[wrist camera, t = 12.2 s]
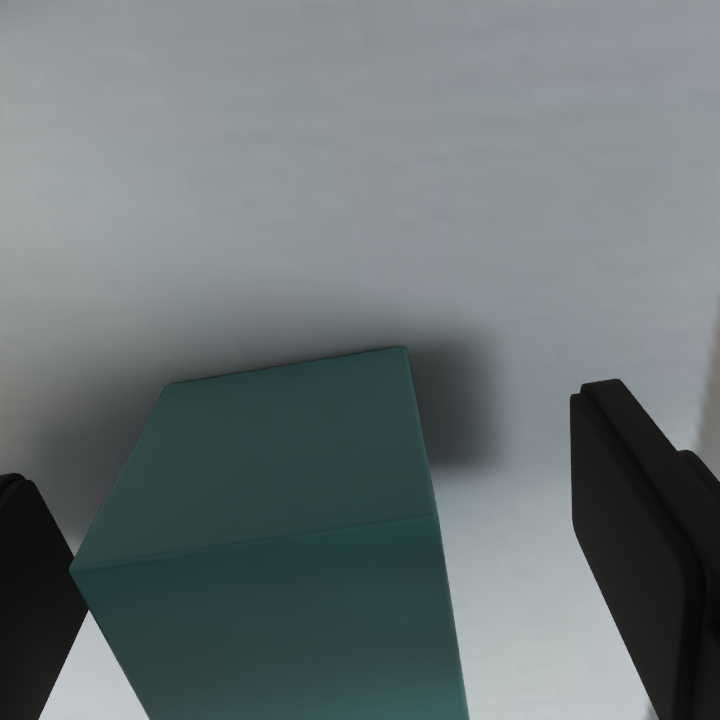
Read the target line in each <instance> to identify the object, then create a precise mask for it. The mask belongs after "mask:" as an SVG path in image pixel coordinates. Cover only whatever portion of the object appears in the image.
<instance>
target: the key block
mask: <svg viewBox="0 0 720 720" xmlns="http://www.w3.org/2000/svg"><path fill="white" fill-rule="evenodd" d="M69 572H70V575H71V577H72V579H73V581H74V582H75V584H76V586H77V588H78V590H79V592H80V593H81V595H82V597H83V599H84V601H85V603H86V604H87V606H88V608H89V610H90V612H91V613H92V615H93V617H94V619H95V621H96V623H97V624H98V626H99V628H100V630H101V632H102V634H103V635H104V637H105V639H106V641H107V643H108V644H109V646H110V648H111V650H112V652H113V654H114V655H115V657H116V659H117V661H118V663H119V665H120V666H121V668H122V670H123V672H124V674H125V675H126V677H127V679H128V681H129V683H130V685H131V686H132V688H133V690H134V692H135V694H136V696H137V697H138V699H139V701H140V703H141V705H142V706H143V708H144V710H145V712H146V714H147V716H148V717H149V719H150V720H469V714H468V707H467V700H466V694H465V687H464V681H463V674H462V668H461V661H460V655H459V648H458V642H457V635H456V629H455V622H454V616H453V609H452V603H451V596H450V589H449V583H448V576H447V570H446V563H445V557H444V550H443V544H442V537H441V531H440V524H439V518H438V512H437V507H436V501H435V496H434V491H433V485H432V480H431V475H430V469H429V464H428V459H427V453H426V448H425V443H424V438H423V432H422V427H421V422H420V416H419V411H418V406H417V400H416V395H415V390H414V384H413V379H412V374H411V368H410V363H409V358H408V352H407V349H406V348H405V347H403V346H401V347H395V348H389V349H383V350H377V351H371V352H365V353H359V354H353V355H347V356H341V357H334V358H328V359H322V360H316V361H310V362H304V363H298V364H292V365H286V366H280V367H274V368H268V369H262V370H256V371H250V372H244V373H237V374H231V375H225V376H219V377H213V378H207V379H201V380H195V381H189V382H183V383H177V384H171V385H167V386H166V387H165V388H164V390H163V392H162V394H161V396H160V398H159V400H158V402H157V403H156V405H155V407H154V409H153V411H152V413H151V415H150V417H149V418H148V420H147V422H146V424H145V426H144V428H143V430H142V432H141V434H140V435H139V437H138V439H137V441H136V443H135V445H134V447H133V449H132V450H131V452H130V454H129V456H128V458H127V460H126V462H125V464H124V465H123V467H122V469H121V471H120V473H119V475H118V477H117V479H116V481H115V482H114V484H113V486H112V488H111V490H110V492H109V494H108V496H107V497H106V499H105V501H104V503H103V505H102V507H101V509H100V511H99V512H98V514H97V516H96V518H95V520H94V522H93V524H92V526H91V528H90V529H89V531H88V533H87V535H86V537H85V539H84V541H83V543H82V544H81V546H80V548H79V550H78V552H77V554H76V556H75V558H74V559H73V561H72V563H71V565H70V568H69Z"/></svg>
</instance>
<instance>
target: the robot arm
mask: <svg viewBox="0 0 720 720" xmlns="http://www.w3.org/2000/svg"><path fill="white" fill-rule="evenodd" d="M570 435H571V485H572V521H573V526H574V531H575V534H576V537H577V540H578V542H579V544H580V546H581V549H582V551H583V553H584V555H585V557H586V560H587V562H588V564H589V566H590V568H591V571H592V573H593V575H594V577H595V579H596V582H597V584H598V586H599V588H600V590H601V593H602V595H603V597H604V599H605V601H606V604H607V606H608V608H609V610H610V612H611V615H612V617H613V619H614V621H615V623H616V626H617V628H618V630H619V632H620V634H621V637H622V639H623V641H624V643H625V645H626V648H627V650H628V652H629V654H630V656H631V659H632V661H633V663H634V665H635V667H636V670H637V672H638V674H639V676H640V678H641V681H642V683H643V685H644V687H645V689H646V692H647V694H648V696H649V698H650V700H651V703H652V705H653V707H654V709H655V711H656V714H657V716H658V718H659V720H720V482H719V481H718V480H717V478H716V477H715V476H714V475H713V474H712V472H711V471H710V470H709V469H708V468H707V466H706V465H705V464H704V463H703V462H702V460H701V459H700V458H699V457H698V456H697V455H696V454H695V453H694V452H692V451H689V450H681V451H677V450H676V449H675V448H674V446H673V445H672V444H671V443H670V441H669V440H668V439H667V438H666V436H665V435H664V434H663V433H662V431H661V430H660V429H659V428H658V426H657V425H656V424H655V423H654V421H653V420H652V419H651V417H650V416H649V415H648V414H647V412H646V411H645V410H644V409H643V407H642V406H641V405H640V404H639V402H638V401H637V400H636V399H635V397H634V396H633V395H632V394H631V392H630V391H629V390H628V388H627V387H626V386H625V385H624V383H623V382H622V381H621V380H620V379H611V380H604V381H598V382H592V383H585V384H583V385H582V386H581V389H580V393H578V394H572V395H571V397H570ZM74 558H75V557H74V555H73V554H72V552H71V550H70V548H69V546H68V544H67V542H66V541H65V539H64V537H63V535H62V533H61V531H60V529H59V528H58V526H57V524H56V522H55V520H54V518H53V516H52V514H51V513H50V511H49V509H48V507H47V505H46V503H45V501H44V500H43V498H42V496H41V494H40V492H39V490H38V488H37V487H36V485H35V484H34V482H32V481H31V480H27V479H25V477H24V476H22V475H21V474H18V473H11V474H5V475H0V720H38V719H39V717H40V715H41V713H42V711H43V709H44V706H45V704H46V702H47V700H48V698H49V695H50V693H51V691H52V689H53V687H54V684H55V682H56V680H57V678H58V676H59V674H60V671H61V669H62V667H63V665H64V663H65V660H66V658H67V656H68V654H69V652H70V650H71V647H72V645H73V643H74V641H75V639H76V636H77V634H78V632H79V630H80V628H81V625H82V623H83V621H84V619H85V617H86V615H87V612H88V610H89V608H88V606H87V604H86V603H85V601H84V599H83V597H82V595H81V593H80V592H79V590H78V588H77V586H76V584H75V582H74V581H73V579H72V577H71V575H70V572H69V568H70V565H71V563H72V561H73V559H74Z"/></svg>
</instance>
